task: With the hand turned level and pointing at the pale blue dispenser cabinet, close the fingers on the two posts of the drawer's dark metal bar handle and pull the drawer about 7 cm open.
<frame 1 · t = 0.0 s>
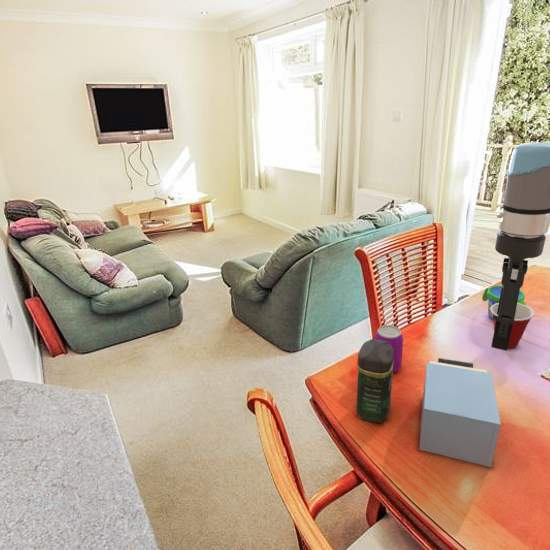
hand: (501, 330, 77), 25 cm above the table, tool pointing down, fingers open, 13 cm apart
snack cup: (500, 319, 126), on the table
plastic cup: (504, 344, 114), on the table
drawer: (455, 393, 88), point 6 cm above the table, slide at 1.0 cm
beverage can: (387, 366, 108), on the table
cabinet: (453, 430, 86), on the table
coffee jar: (373, 409, 94), on the table
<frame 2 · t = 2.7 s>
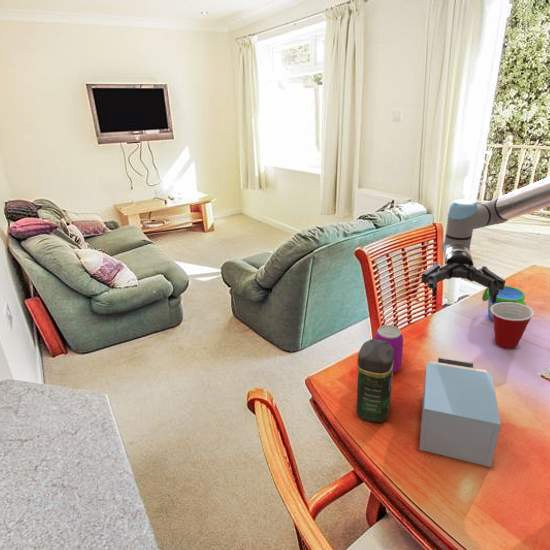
hand: (463, 295, 94), 24 cm above the table, tool horizontal, fingers open, 13 cm apart
nothing on the table moved.
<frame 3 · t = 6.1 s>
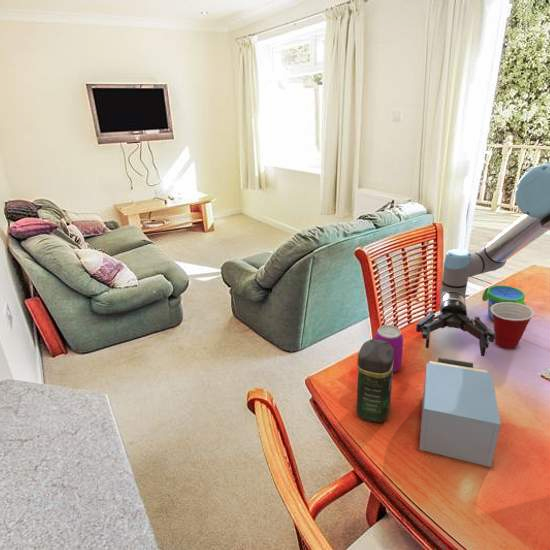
hand: (454, 348, 100), 8 cm above the table, tool horizontal, fingers open, 13 cm apart
nothing on the table moved.
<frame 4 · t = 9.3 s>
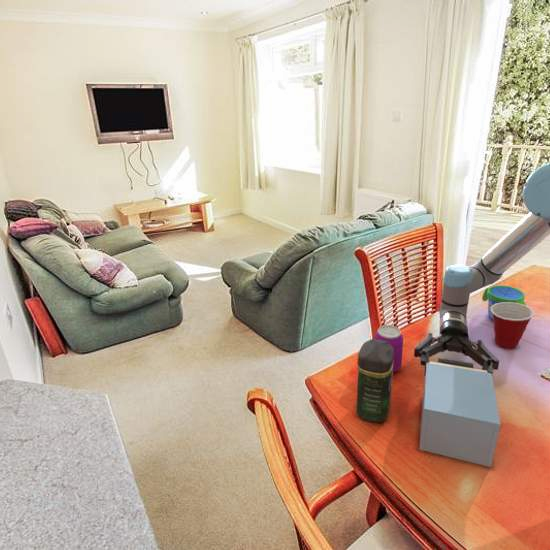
hand: (455, 377, 91), 8 cm above the table, tool horizontal, fingers closed on drawer, 13 cm apart
drawer: (455, 393, 88), point 6 cm above the table, slide at 0.9 cm, touching gripper
everything else where it was.
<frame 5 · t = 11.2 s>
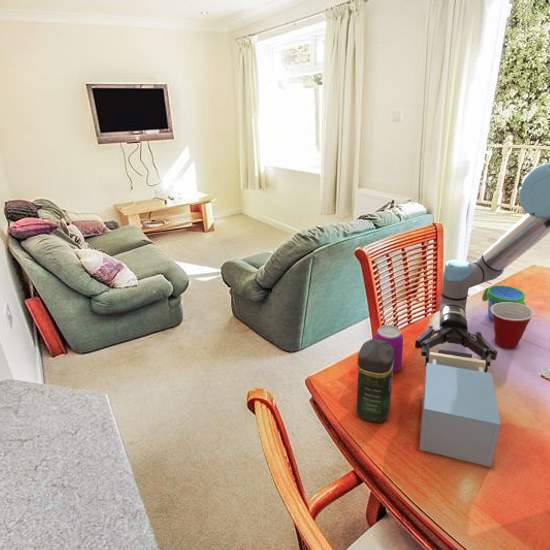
hand: (455, 366, 94), 8 cm above the table, tool horizontal, fingers closed on drawer, 13 cm apart
drawer: (455, 382, 92), point 6 cm above the table, slide at 4.9 cm, touching gripper
everything else where it was.
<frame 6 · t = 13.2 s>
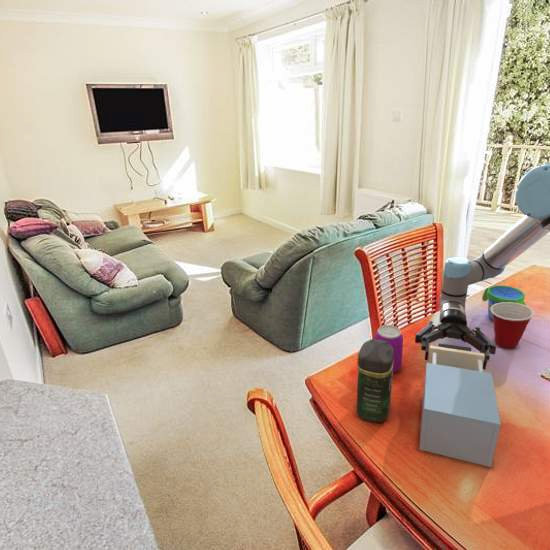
hand: (454, 360, 97), 7 cm above the table, tool horizontal, fingers open, 13 cm apart
drawer: (454, 375, 94), point 6 cm above the table, slide at 7.8 cm
everything else where it was.
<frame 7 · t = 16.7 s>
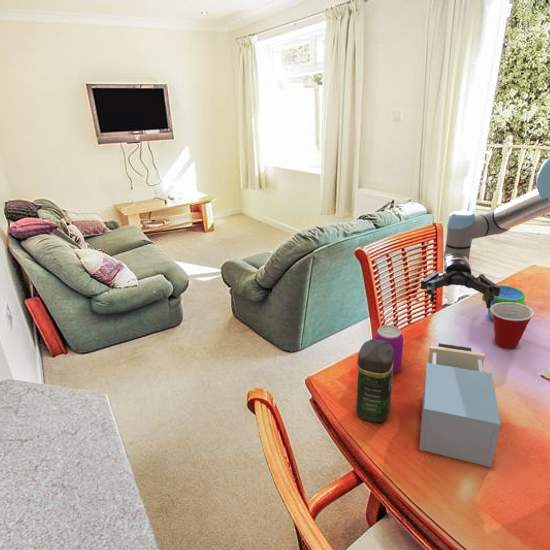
hand: (460, 300, 99), 20 cm above the table, tool horizontal, fingers open, 13 cm apart
nothing on the table moved.
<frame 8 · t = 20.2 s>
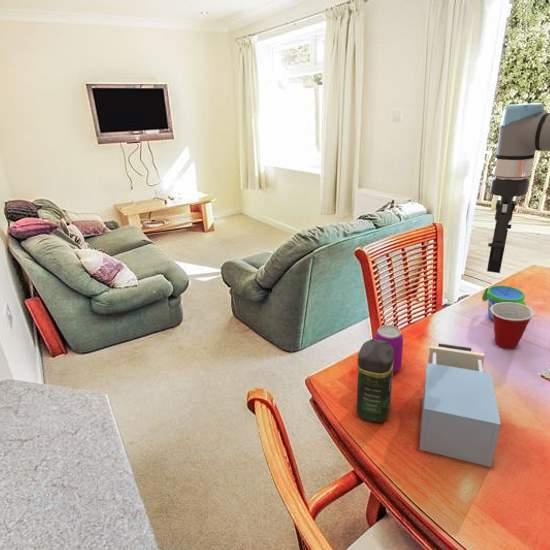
hand: (495, 261, 95), 31 cm above the table, tool pointing down, fingers open, 13 cm apart
nothing on the table moved.
at the end: drawer slide at 7.8 cm; plastic cup moved 0.2 cm from its start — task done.
